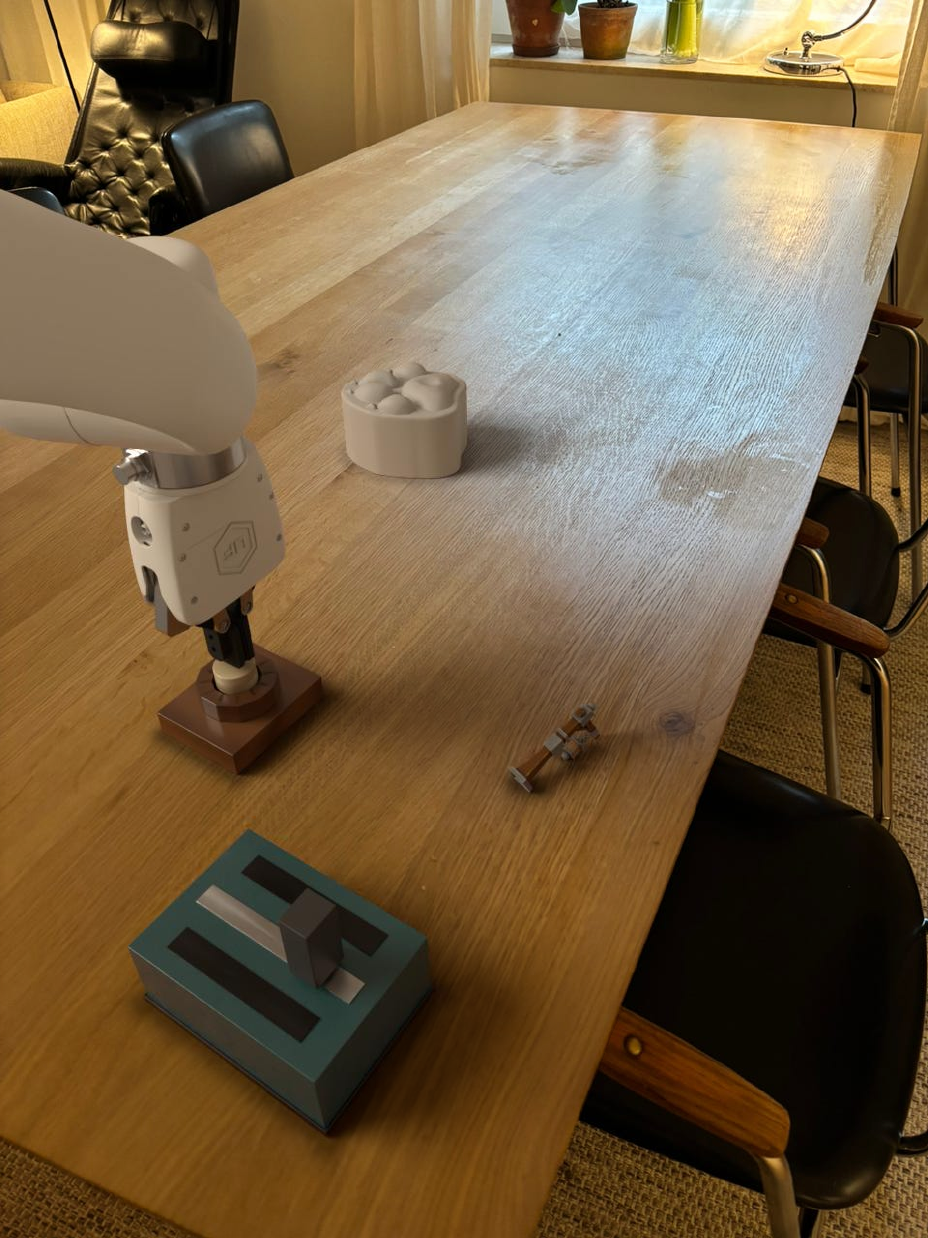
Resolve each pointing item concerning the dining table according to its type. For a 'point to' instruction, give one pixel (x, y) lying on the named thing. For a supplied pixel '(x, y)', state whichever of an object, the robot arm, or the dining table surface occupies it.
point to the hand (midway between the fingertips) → (232, 656)
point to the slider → (311, 938)
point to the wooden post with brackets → (558, 745)
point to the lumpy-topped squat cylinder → (406, 422)
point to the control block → (241, 711)
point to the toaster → (283, 980)
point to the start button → (235, 677)
